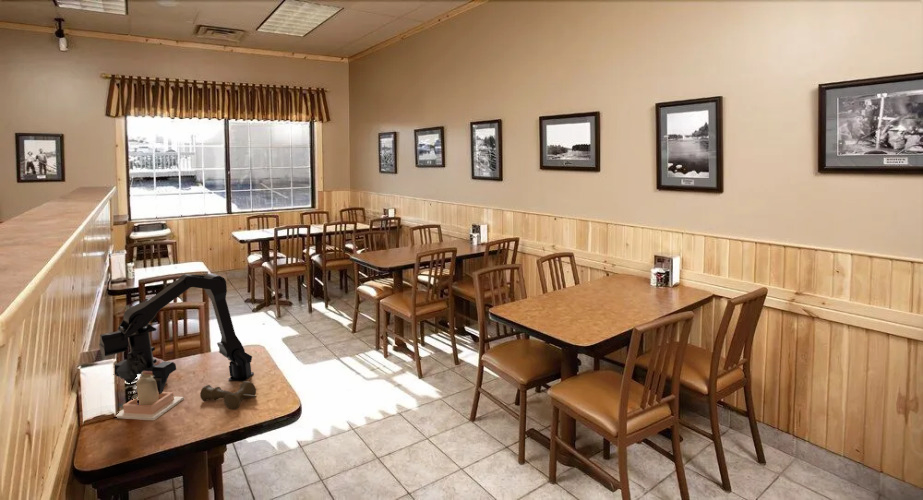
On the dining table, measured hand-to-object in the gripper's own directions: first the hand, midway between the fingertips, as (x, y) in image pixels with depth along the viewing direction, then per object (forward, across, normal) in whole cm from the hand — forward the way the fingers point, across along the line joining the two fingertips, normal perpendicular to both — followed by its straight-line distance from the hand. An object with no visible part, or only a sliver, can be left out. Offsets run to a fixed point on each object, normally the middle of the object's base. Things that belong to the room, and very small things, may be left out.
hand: (147, 392), depth 170 cm
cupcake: (+6, -11, +17) cm, 21 cm away
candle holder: (+5, 0, 0) cm, 5 cm away
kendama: (+6, +24, +7) cm, 26 cm away
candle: (+5, 0, 0) cm, 5 cm away
